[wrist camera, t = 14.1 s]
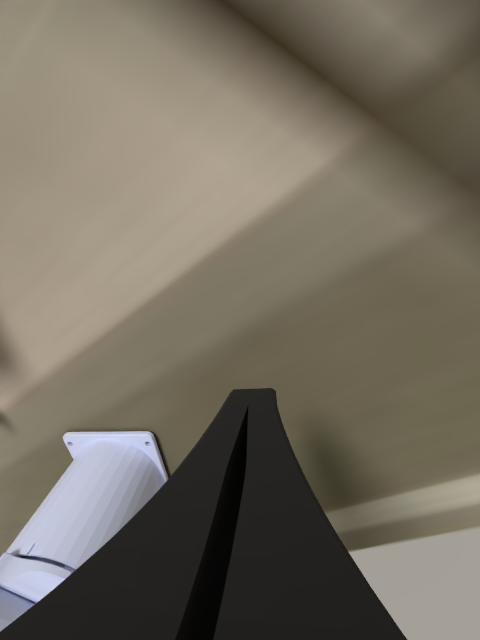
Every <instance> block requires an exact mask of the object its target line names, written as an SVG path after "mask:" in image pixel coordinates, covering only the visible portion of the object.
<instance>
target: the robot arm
mask: <svg viewBox="0 0 480 640" xmlns="http://www.w3.org/2000/svg"><path fill="white" fill-rule="evenodd" d="M63 440H64V442H65V444H66V446H67V448H68V449H69V451H70V453H71V455H72V457H73V459H74V460H73V462H72V463H71V464H70V466H69V467H68V469H67V470H66V471H65V473H64V474H63V475H62V477H61V478H60V479H59V481H58V482H57V483H56V485H55V486H54V488H53V489H52V490H51V492H50V493H49V494H48V496H47V497H46V498H45V500H44V501H43V502H42V504H41V505H40V506H39V508H38V509H37V511H36V512H35V513H34V515H33V516H32V517H31V519H30V520H29V521H28V523H27V524H26V525H25V527H24V528H23V530H22V531H21V532H20V534H19V535H18V536H17V538H16V539H15V540H14V542H13V543H12V544H11V546H10V547H9V548H8V550H7V551H6V553H3V555H2V556H1V557H0V640H407V639H406V637H405V636H404V635H403V633H402V632H401V630H400V629H399V628H398V626H397V625H396V623H395V622H394V620H393V619H392V617H391V616H390V615H389V613H388V611H387V610H386V609H385V607H384V606H383V604H382V603H381V601H380V600H379V599H378V597H377V596H376V594H375V593H374V591H373V590H372V588H371V587H370V585H369V584H368V582H367V581H366V579H365V577H364V576H363V574H362V573H361V571H360V570H359V568H358V567H357V565H356V563H355V562H354V560H353V559H352V557H351V556H350V554H349V552H348V551H347V549H346V548H345V546H344V545H343V543H342V541H341V540H340V538H339V537H338V535H337V533H336V532H335V530H334V528H333V527H332V525H331V523H330V522H329V520H328V518H327V516H326V515H325V513H324V511H323V510H322V508H321V506H320V504H319V502H318V500H317V499H316V497H315V495H314V493H313V491H312V489H311V487H310V486H309V484H308V482H307V480H306V478H305V476H304V474H303V472H302V469H301V467H300V465H299V463H298V461H297V459H296V457H295V454H294V452H293V450H292V447H291V445H290V442H289V440H288V437H287V435H286V432H285V430H284V427H283V424H282V421H281V418H280V414H279V411H278V407H277V399H276V391H275V390H273V389H272V388H266V389H235V390H232V392H231V393H230V394H229V396H228V398H227V399H226V401H225V402H224V404H223V406H222V407H221V409H220V410H219V412H218V414H217V415H216V417H215V418H214V420H213V421H212V423H211V424H210V426H209V427H208V428H207V430H206V431H205V433H204V434H203V435H202V437H201V438H200V440H199V441H198V442H197V444H196V445H195V446H194V448H193V449H192V450H191V452H190V453H189V454H188V455H187V457H186V458H185V459H184V460H183V462H182V463H181V464H180V466H179V467H178V468H177V469H176V471H175V472H174V473H173V474H172V475H171V476H170V478H169V479H168V476H167V473H166V470H165V467H164V464H163V461H162V458H161V455H160V452H159V449H158V446H157V443H156V440H155V437H154V435H153V434H152V433H151V432H148V431H135V432H67V433H66V434H65V435H64V436H63Z"/></svg>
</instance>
